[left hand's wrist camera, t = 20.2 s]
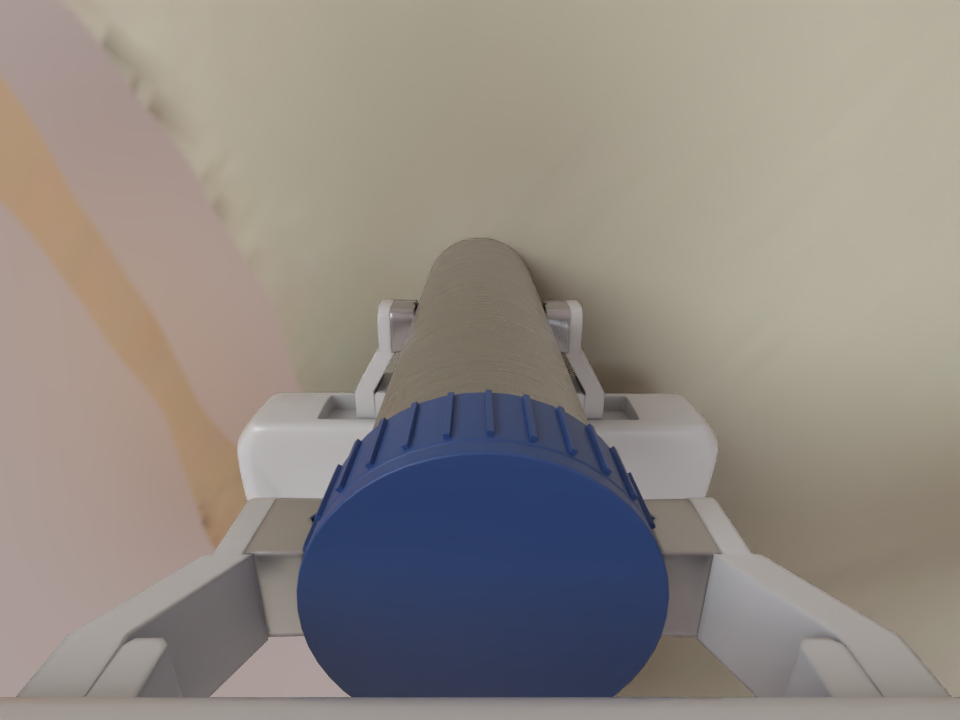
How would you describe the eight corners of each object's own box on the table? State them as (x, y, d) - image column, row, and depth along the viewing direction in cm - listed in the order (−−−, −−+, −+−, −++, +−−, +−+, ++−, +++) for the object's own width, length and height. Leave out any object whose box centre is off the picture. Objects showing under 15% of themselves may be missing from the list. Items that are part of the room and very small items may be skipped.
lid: (700, 459, 10) (752, 533, 8) (552, 677, 12) (566, 777, 10) (389, 334, 9) (366, 384, 7) (286, 592, 11) (247, 684, 9)
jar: (439, 348, 29) (371, 707, 10) (416, 248, 27) (286, 475, 9) (539, 330, 28) (649, 669, 10) (523, 228, 26) (623, 420, 8)
